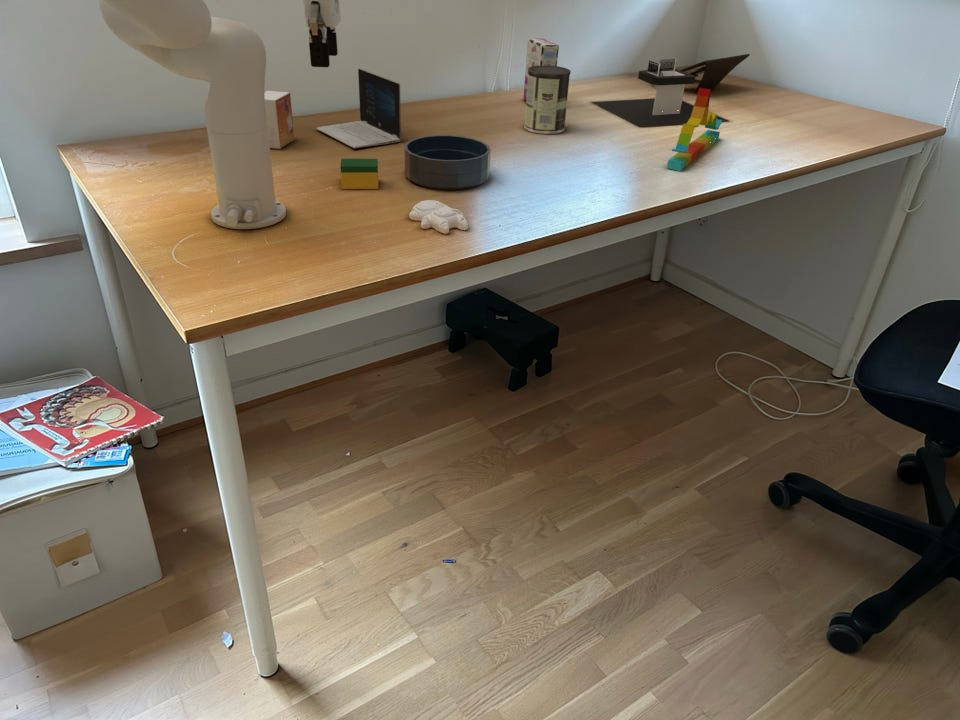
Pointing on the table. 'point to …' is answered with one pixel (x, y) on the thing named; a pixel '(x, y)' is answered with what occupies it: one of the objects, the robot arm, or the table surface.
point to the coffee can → (546, 99)
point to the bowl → (447, 161)
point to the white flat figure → (438, 216)
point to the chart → (698, 146)
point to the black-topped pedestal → (657, 98)
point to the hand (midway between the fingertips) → (324, 60)
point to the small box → (279, 118)
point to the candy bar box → (540, 56)
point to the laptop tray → (714, 70)
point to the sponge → (359, 173)
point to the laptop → (372, 114)
